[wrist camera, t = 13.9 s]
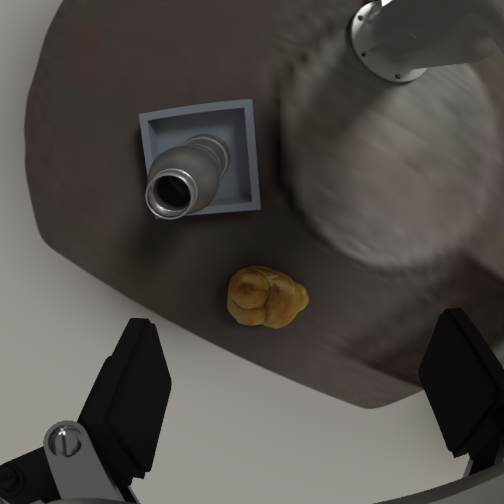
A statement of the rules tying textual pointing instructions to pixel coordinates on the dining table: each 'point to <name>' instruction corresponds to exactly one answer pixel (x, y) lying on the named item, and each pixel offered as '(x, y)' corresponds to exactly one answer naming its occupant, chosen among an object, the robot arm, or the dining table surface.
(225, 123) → the tray
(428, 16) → the robot arm
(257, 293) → the bread roll
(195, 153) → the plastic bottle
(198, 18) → the dining table surface
